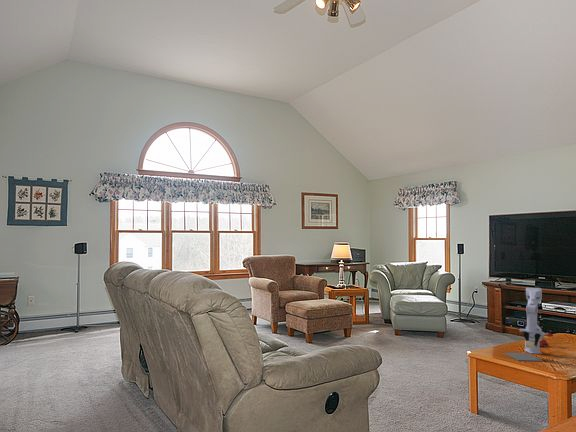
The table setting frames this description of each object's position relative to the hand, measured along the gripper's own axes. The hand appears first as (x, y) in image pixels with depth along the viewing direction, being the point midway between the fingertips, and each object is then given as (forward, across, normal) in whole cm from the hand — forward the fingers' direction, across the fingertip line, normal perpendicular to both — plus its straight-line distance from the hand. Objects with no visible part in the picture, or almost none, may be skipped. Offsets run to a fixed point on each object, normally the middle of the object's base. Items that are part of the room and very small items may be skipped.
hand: (531, 344), depth 294 cm
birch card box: (+2, 0, 0) cm, 2 cm away
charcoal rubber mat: (+8, -4, -4) cm, 10 cm away
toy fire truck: (+9, -7, +44) cm, 45 cm away
